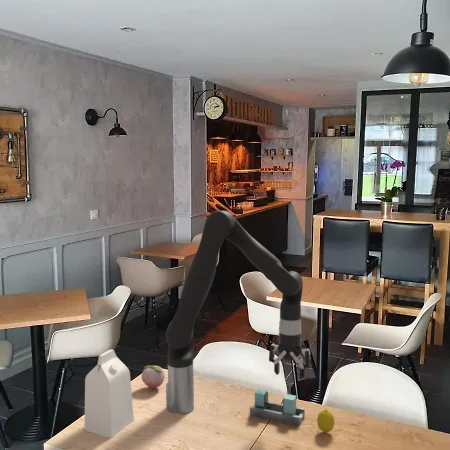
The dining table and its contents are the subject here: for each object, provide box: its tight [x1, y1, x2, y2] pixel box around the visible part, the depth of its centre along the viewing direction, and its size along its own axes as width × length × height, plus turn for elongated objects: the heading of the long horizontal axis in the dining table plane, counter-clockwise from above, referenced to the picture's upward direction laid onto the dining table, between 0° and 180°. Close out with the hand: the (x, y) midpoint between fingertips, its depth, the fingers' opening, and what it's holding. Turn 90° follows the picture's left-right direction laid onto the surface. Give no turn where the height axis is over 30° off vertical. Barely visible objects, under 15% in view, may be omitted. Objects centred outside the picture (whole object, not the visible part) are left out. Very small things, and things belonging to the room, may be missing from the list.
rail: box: [249, 388, 306, 427], centre depth 171 cm, size 18×7×8 cm, turn 66°
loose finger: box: [282, 393, 297, 415], centre depth 169 cm, size 4×4×7 cm
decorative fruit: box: [141, 365, 166, 389], centre depth 193 cm, size 9×8×10 cm
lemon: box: [316, 409, 335, 434], centre depth 160 cm, size 6×6×8 cm
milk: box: [84, 349, 135, 439], centre depth 165 cm, size 12×12×26 cm
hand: (289, 375), depth 168 cm, fingers open, 8 cm apart
